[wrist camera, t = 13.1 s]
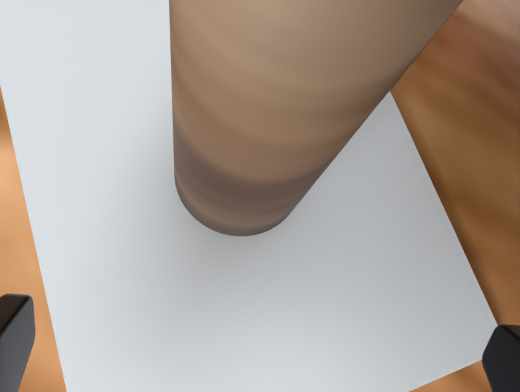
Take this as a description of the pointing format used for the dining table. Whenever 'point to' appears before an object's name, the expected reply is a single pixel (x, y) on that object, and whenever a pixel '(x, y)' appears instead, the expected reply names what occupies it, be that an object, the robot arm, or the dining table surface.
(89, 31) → the ceramic tile
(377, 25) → the pepper mill
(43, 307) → the dining table surface
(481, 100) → the dining table surface
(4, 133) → the dining table surface
